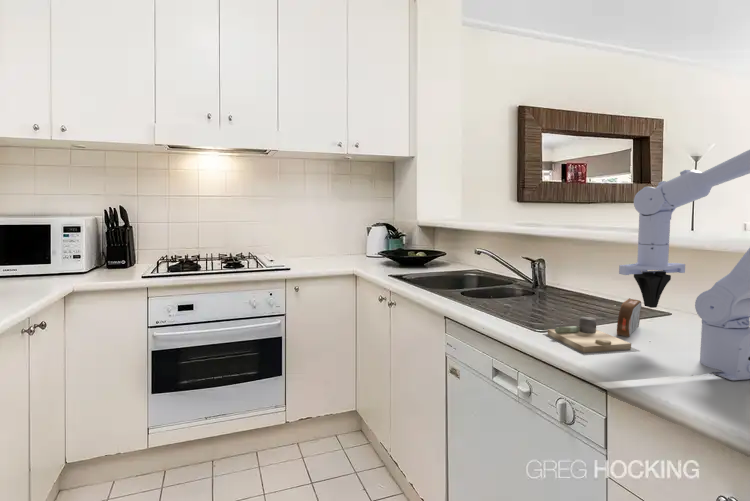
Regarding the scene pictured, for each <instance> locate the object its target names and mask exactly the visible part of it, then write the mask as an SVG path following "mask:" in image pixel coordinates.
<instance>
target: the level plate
mask: <svg viewBox="0 0 750 501" xmlns="http://www.w3.org/2000/svg"><path fill="white" fill-rule="evenodd" d="M547 334H548V335H550V336H552V337H554V338H556V339H558V340H560V341H562V342H564V343H566V344H568V345H570V346H572V347H574V348H576V349H578V350H580V351H582V352H597V351H611V350H625V349H631V347H632V343H631V342H629V341H627V340H625V339H621V338H619V337H616V336H613V335H612V334H608V333H606V332H604V331H601V330H598V329H597V318H595V317H591V316H579V323H578V325H571V326H556V327H555V328H551V329H549V328H548V329H547Z"/></svg>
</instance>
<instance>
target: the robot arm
mask: <svg viewBox="0 0 750 501" xmlns="http://www.w3.org/2000/svg"><path fill="white" fill-rule="evenodd" d="M679 174H680V175H678V176H676V177H674V178H672V179H671V178H670V179H669V180H667V181H665V180H662V181H659V182H658V183H657V184H658V185H657V186H656V187H653V186H643V188H642V189H640V190H639V191H638V192H637V193H635V196H634V198H633V205H634V206H633V207H634V209H635V210H636V211H637V212H638V213H639V215H638V238H637V239H638V240H637V260H636V261H637V262H635V263H629V264H620V265H619V268H618V269H619V270H618V275H623V276H630V275H633V278H634V280H635V281H636V283H637V285H638V287H639V291H640V293H641V296H642V300H643V304H644V307H648V308H652V309H653V308H657V307H658V304H659V300H660V298H661V295H662V293H663V292H664V290H665V289H666V286H667V285H668V283H669V282H670V281H672V280H671V279H672V275H670V273H673V274H674V273H678V274H679V273H680V274H685V272H686V264H685V263H683V262H682V263H680V262H669V253H670V232H671V220H672V214H673V212H674V211H675V210H676V209H677V208H679V207H681V206H684V205H687V204H690V203H692V202H694V201H697V200H700V199H703V198H705V197H707V196H708V195H709V194H710V193H711V190H712V188H713V187H716V186H719V185H721V184H725V183H726V182H729V181H733V180H735V179H738V178H740V177H744V176H746V175H750V149H747V150H746V151H743V152H742V153H740V154H738V155H737V154H736V156H733V157H731V158H729V159H727V160H725V161H723V162H721V163H719V164H717V165H715V166H712V167H711V168H709V169H706V170H704V171H701V170H698V169H692V170H691V169H683V170H682V171H680V172H679ZM694 303H695V304H694V310H695V312H696V313H697V315H698V317H699V318H700V319H701V331H700V332H701V333H700V352H699V362H700V364H701V365H703V366H706V367H708V368H711V369H714V370H719V371H714V372H712V371H711V372H710V373H711V374H713V375H717V376H719V377H721V378H724V379H726V380H728V381H742V380H743V381H744V380H750V247H749V248H748V250H747V251H745V253H744V255H742V257H741V258H740V260H738V262H737V263H736V264H735V266H734V267H733V268H732V269H731V271H730V272H729V273H727V275H725V276H723V277H722V278H720V279H719V280H717V281H716V282H715V283H713V285H712V286H711V288H710V289H708V290H704V291H703V292H701V293H700V294H698V295H697V297H696V299H695V302H694Z"/></svg>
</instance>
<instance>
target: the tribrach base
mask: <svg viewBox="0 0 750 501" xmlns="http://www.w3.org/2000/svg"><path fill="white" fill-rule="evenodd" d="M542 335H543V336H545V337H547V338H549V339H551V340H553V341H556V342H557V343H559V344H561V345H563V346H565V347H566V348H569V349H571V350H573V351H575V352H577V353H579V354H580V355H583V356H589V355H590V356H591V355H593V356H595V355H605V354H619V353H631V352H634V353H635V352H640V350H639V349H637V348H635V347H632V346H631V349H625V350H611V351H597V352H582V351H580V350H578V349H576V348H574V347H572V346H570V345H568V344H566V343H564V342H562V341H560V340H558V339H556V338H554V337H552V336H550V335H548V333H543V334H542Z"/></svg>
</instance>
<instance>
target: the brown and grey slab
mask: <svg viewBox="0 0 750 501" xmlns="http://www.w3.org/2000/svg"><path fill="white" fill-rule="evenodd" d="M641 309H642V301H641V300H638V299H636V298H635V299H634V298H627V299H626V300H625V301H624V302H622V304H621V305H620V308H619V312H618V315H617V316H618V317H617V324H616V335H617V336H621V337H627V338H629V337H630V336H631V335H632V333H634V331H635V330H636V329H637V328H639V326H640V317H641V315H640V314H641Z"/></svg>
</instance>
